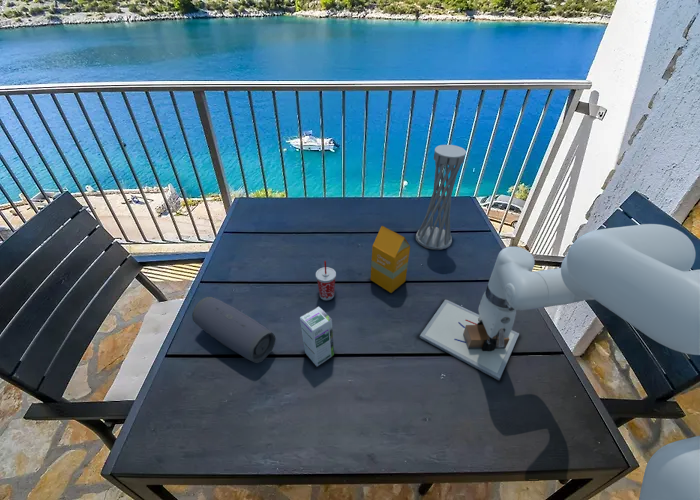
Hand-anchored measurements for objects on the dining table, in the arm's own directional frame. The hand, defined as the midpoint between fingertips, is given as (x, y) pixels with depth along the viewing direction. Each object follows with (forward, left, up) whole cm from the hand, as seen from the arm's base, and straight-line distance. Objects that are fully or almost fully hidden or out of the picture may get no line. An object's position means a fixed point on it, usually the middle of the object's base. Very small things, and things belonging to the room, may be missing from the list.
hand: (484, 340), depth 94 cm
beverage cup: (+46, +11, -2) cm, 47 cm away
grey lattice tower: (+32, -36, -2) cm, 48 cm away
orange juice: (+34, -6, -2) cm, 35 cm away
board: (+4, 0, -1) cm, 4 cm away
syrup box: (+34, +29, -2) cm, 45 cm away
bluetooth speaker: (+55, +39, -2) cm, 67 cm away
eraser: (0, 0, 0) cm, 0 cm away
